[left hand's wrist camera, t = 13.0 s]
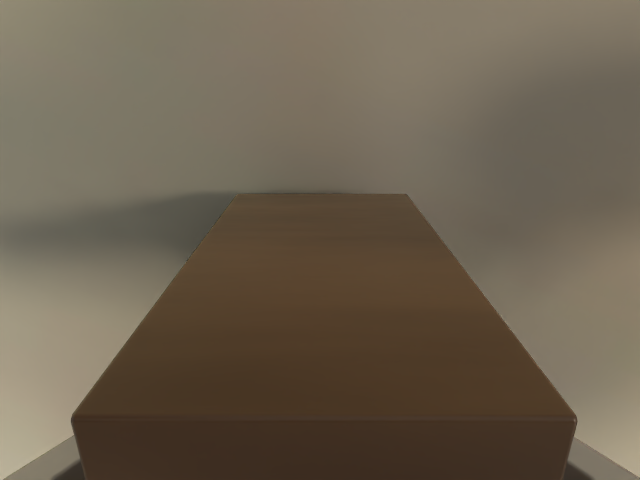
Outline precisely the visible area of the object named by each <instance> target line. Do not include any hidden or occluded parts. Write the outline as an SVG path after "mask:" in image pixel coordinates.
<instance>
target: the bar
mask: <svg viewBox="0 0 640 480" xmlns="http://www.w3.org/2000/svg"><path fill="white" fill-rule="evenodd" d="M71 424H72V428H73V432H74V436H75V440H76V444H77V448H78V452H79V456H80V460H81V464H82V468H83V472H84V476H85V480H563V476H564V472H565V468H566V464H567V461H568V457H569V453H570V449H571V445H572V441H573V437H574V433H575V429H576V425H577V417H576V415H575V413H574V412H573V411H572V410H571V408H570V407H569V406H568V404H567V403H566V402H565V400H564V399H563V398H562V397H561V395H560V394H559V393H558V391H557V390H556V389H555V387H554V386H553V385H552V383H551V382H550V381H549V380H548V378H547V377H546V376H545V374H544V373H543V372H542V370H541V369H540V368H539V366H538V365H537V364H536V363H535V361H534V360H533V359H532V357H531V356H530V355H529V353H528V352H527V351H526V349H525V348H524V347H523V346H522V344H521V343H520V342H519V340H518V339H517V338H516V336H515V335H514V334H513V332H512V331H511V330H510V329H509V327H508V326H507V325H506V323H505V322H504V321H503V319H502V318H501V317H500V316H499V314H498V313H497V312H496V310H495V309H494V308H493V306H492V305H491V304H490V302H489V301H488V300H487V299H486V297H485V296H484V295H483V293H482V292H481V291H480V289H479V288H478V287H477V285H476V284H475V283H474V282H473V280H472V279H471V278H470V276H469V275H468V274H467V272H466V271H465V270H464V268H463V267H462V266H461V265H460V263H459V262H458V261H457V259H456V258H455V257H454V255H453V254H452V253H451V252H450V250H449V249H448V248H447V246H446V245H445V244H444V242H443V241H442V240H441V238H440V237H439V236H438V235H437V233H436V232H435V231H434V229H433V228H432V227H431V225H430V224H429V223H428V221H427V220H426V219H425V218H424V216H423V215H422V214H421V212H420V211H419V210H418V208H417V207H416V206H415V204H414V203H413V202H412V201H411V199H410V198H409V197H408V195H407V194H237V195H236V196H235V197H234V199H233V200H232V202H231V203H230V204H229V206H228V207H227V208H226V210H225V211H224V212H223V214H222V215H221V216H220V218H219V219H218V220H217V222H216V223H215V224H214V226H213V227H212V228H211V230H210V231H209V232H208V234H207V235H206V236H205V238H204V239H203V240H202V242H201V243H200V244H199V246H198V247H197V248H196V250H195V251H194V252H193V254H192V255H191V256H190V258H189V259H188V260H187V262H186V263H185V264H184V266H183V267H182V268H181V270H180V271H179V272H178V274H177V275H176V276H175V278H174V279H173V281H172V282H171V283H170V285H169V286H168V287H167V289H166V290H165V291H164V293H163V294H162V295H161V297H160V298H159V299H158V301H157V302H156V303H155V305H154V306H153V307H152V309H151V310H150V311H149V313H148V314H147V315H146V317H145V318H144V319H143V321H142V322H141V323H140V325H139V326H138V327H137V329H136V330H135V331H134V333H133V334H132V335H131V337H130V338H129V339H128V341H127V342H126V343H125V345H124V346H123V347H122V349H121V350H120V351H119V353H118V354H117V355H116V357H115V358H114V359H113V361H112V362H111V364H110V365H109V366H108V368H107V369H106V370H105V372H104V373H103V374H102V376H101V377H100V378H99V380H98V381H97V382H96V384H95V385H94V386H93V388H92V389H91V390H90V392H89V393H88V394H87V396H86V397H85V398H84V400H83V401H82V402H81V404H80V405H79V406H78V408H77V409H76V410H75V412H74V413H73V414H72V418H71Z"/></svg>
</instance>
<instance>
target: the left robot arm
mask: <svg viewBox="0 0 640 480" xmlns="http://www.w3.org/2000/svg"><path fill="white" fill-rule="evenodd" d="M4 480H85V476H84V472H83V468H82V464H81V460H80V456H79V452H78V448H77V444H76V440H75V436H72V437H70V438H69V439H67V440H66V441H64V442H62V443H61V444H59V445H58V446H56V447H54V448H53V449H51V450H49V451H48V452H46V453H45V454H43V455H41V456H40V457H38V458H37V459H35V460H33V461H32V462H30V463H29V464H27V465H25V466H24V467H22V468H21V469H19V470H17V471H16V472H14V473H13V474H11V475H9V476H8V477H6V478H5V479H4ZM563 480H640V478H639V477H638V476H636V475H634V474H633V473H631V472H630V471H628V470H626V469H625V468H623V467H621V466H620V465H618V464H617V463H615V462H613V461H612V460H610V459H608V458H607V457H605V456H604V455H602V454H600V453H599V452H597V451H596V450H594V449H592V448H591V447H589V446H587V445H586V444H584V443H583V442H581V441H579V440H578V439H576V438H574V437H573V441H572V445H571V449H570V453H569V457H568V461H567V464H566V468H565V472H564V476H563Z"/></svg>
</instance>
